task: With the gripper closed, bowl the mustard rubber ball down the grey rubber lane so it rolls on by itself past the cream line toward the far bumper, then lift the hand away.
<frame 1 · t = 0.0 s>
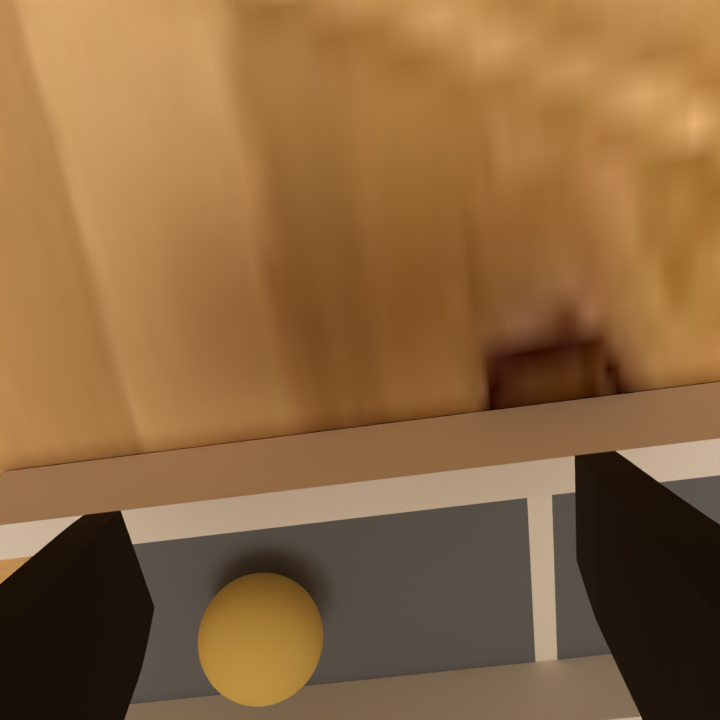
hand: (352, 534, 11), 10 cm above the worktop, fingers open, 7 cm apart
lane: (410, 568, 24), on the worktop
ball: (268, 592, 24), resting on lane
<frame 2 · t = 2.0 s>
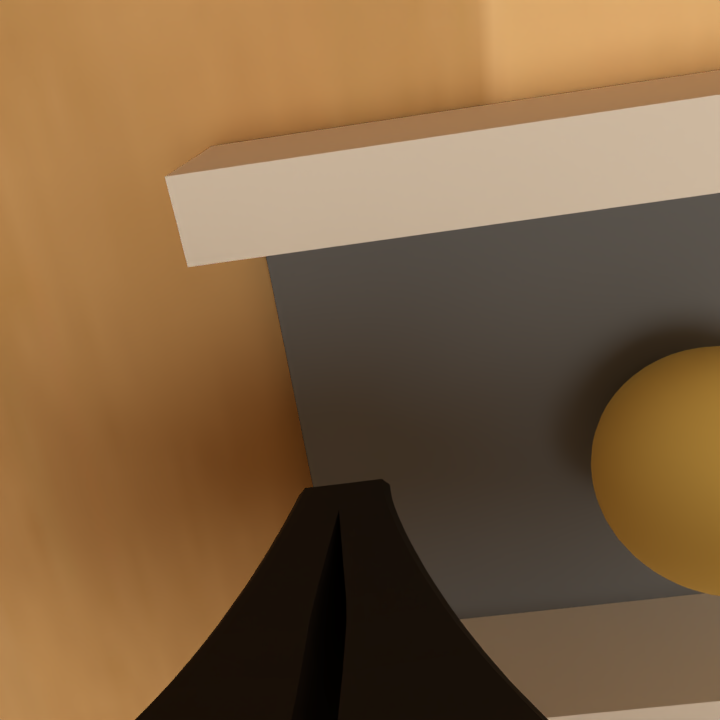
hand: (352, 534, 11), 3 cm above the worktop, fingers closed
ball: (669, 409, 13), resting on lane
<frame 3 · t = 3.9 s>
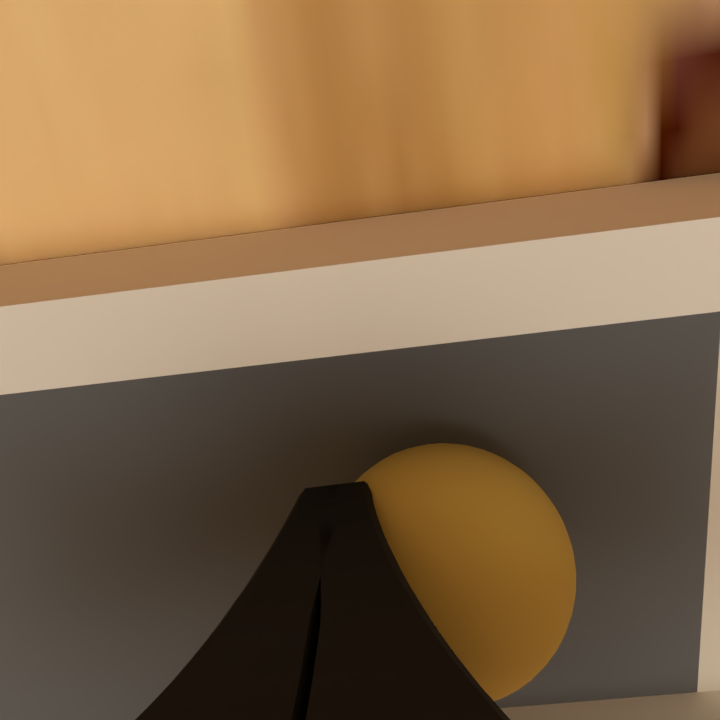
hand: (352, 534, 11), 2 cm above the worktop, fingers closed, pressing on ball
lane: (483, 511, 13), on the worktop
ball: (342, 644, 10), point 3 cm above the worktop, tilted 121°, touching gripper, lane
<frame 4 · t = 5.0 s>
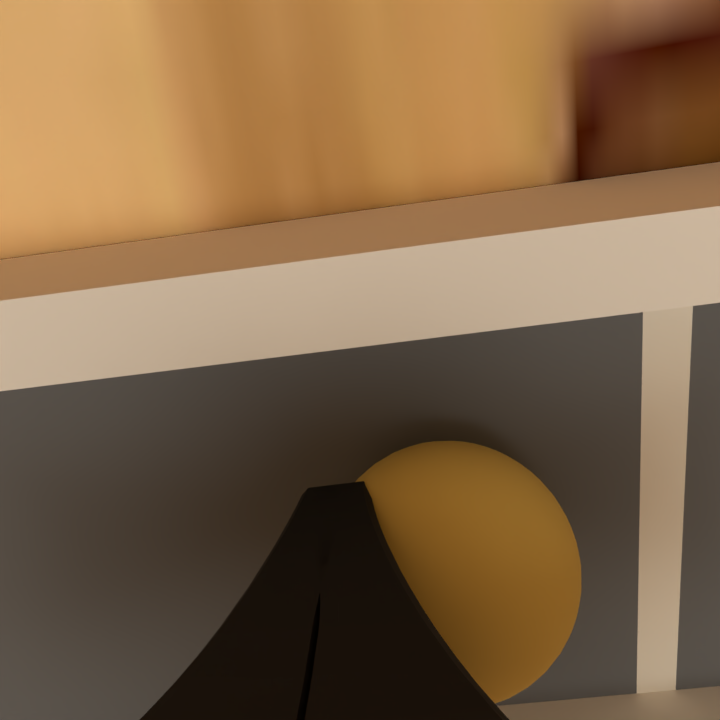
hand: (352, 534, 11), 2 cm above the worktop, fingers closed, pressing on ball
lane: (415, 514, 13), on the worktop
ball: (418, 686, 9), point 4 cm above the worktop, tilted 157°, touching gripper, lane
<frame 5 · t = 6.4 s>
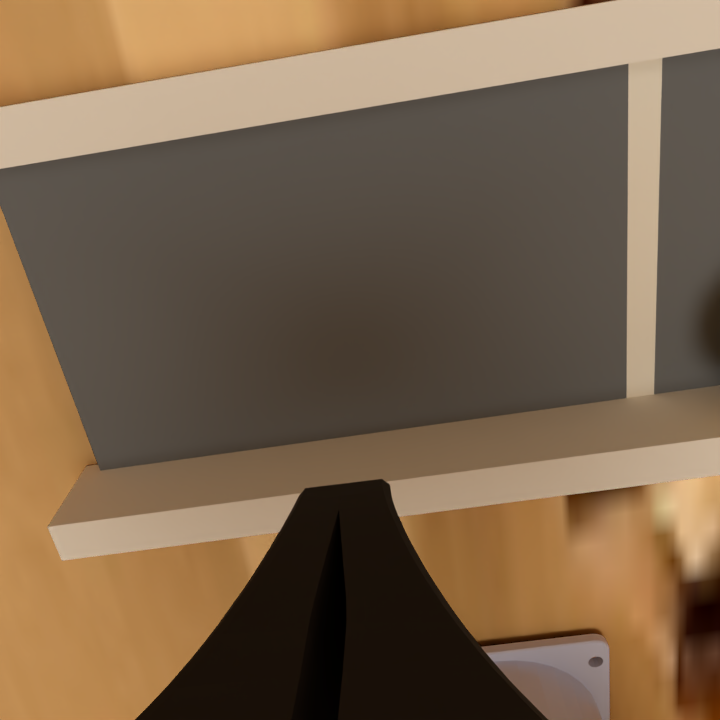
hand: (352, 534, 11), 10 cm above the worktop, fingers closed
lane: (471, 263, 19), on the worktop
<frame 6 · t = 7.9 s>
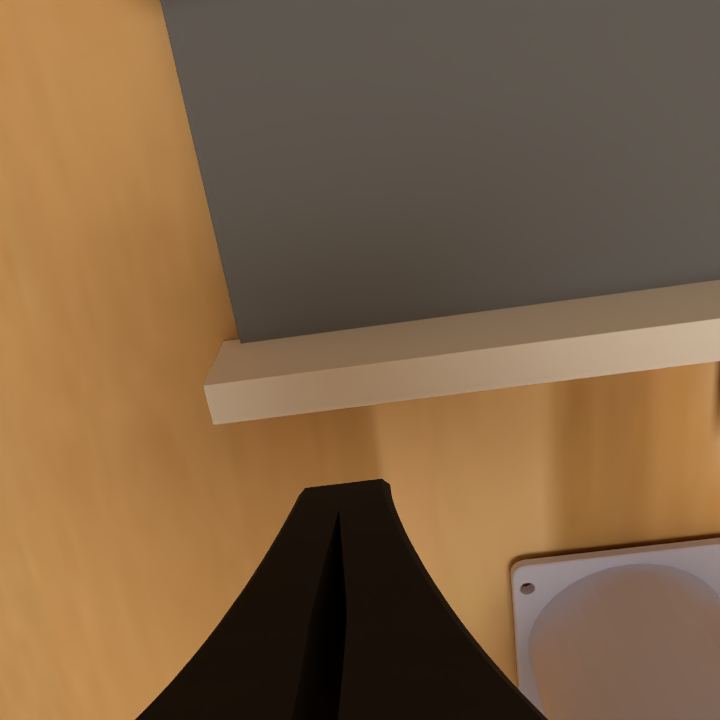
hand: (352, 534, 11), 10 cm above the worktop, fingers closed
lane: (650, 116, 18), on the worktop
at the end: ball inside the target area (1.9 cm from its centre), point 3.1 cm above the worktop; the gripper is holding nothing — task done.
